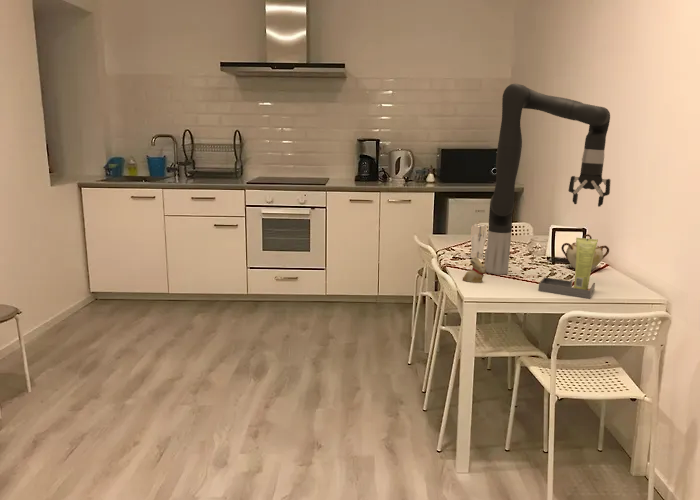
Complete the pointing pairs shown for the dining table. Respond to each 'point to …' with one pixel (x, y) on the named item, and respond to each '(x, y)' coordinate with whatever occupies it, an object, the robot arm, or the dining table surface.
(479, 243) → the beer glass
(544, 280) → the channel
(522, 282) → the dining table surface
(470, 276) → the chocolate bunny
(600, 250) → the sugar bowl
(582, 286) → the tube
